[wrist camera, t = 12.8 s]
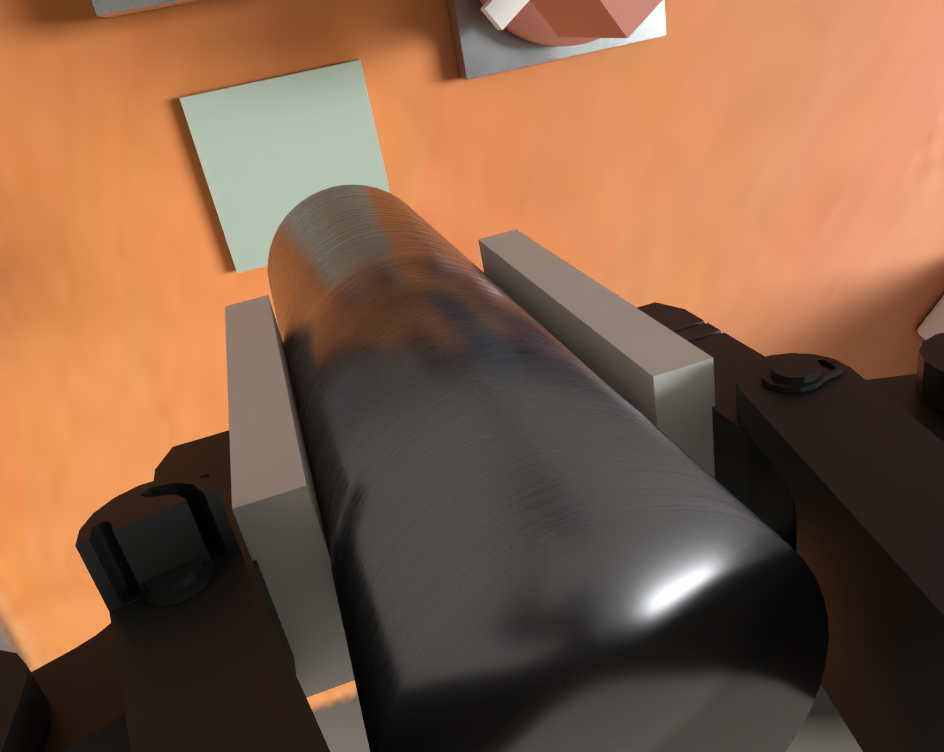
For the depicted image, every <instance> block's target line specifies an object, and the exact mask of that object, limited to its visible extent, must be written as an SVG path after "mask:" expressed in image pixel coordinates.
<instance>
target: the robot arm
mask: <svg viewBox="0 0 944 752" xmlns="http://www.w3.org/2000/svg"><path fill="white" fill-rule="evenodd" d="M479 246H480V251H481V257H482V262H483V268H484V274H486V275H487V276H488V277H489V278H490V279H491V280H492V281H493V282H495V283H496V284H497V285H498V286H499V287H500V288H501V289H502V290H504V291H505V292H506V293H507V294H508V295H509V296H510V297H511V298H513V299H514V300H515V301H516V302H517V303H518V304H519V305H520V306H522V307H523V308H524V309H525V310H526V311H527V312H528V313H529V314H530V315H532V316H533V317H534V318H535V319H536V320H537V321H538V322H539V323H541V324H542V325H543V326H544V327H545V328H546V329H547V330H548V331H550V332H551V333H552V334H553V335H554V336H555V337H556V338H557V339H559V340H560V341H561V342H562V343H563V344H564V345H565V346H566V347H568V348H569V349H570V350H571V351H572V352H573V353H574V354H575V355H577V356H578V357H579V358H580V359H581V360H582V361H583V362H584V363H586V364H587V365H588V366H589V367H590V368H591V369H592V370H593V371H594V372H596V373H597V374H598V375H599V376H600V377H601V378H602V379H603V380H605V381H606V382H607V383H608V384H609V385H610V386H611V387H612V388H614V389H615V390H616V391H617V392H618V393H619V394H620V395H621V396H623V397H624V398H625V399H626V400H627V401H628V402H629V403H630V404H632V405H633V406H634V407H635V408H636V409H637V410H638V411H639V412H641V413H642V414H643V415H644V416H645V417H646V418H647V419H648V420H650V421H651V422H652V423H653V424H654V425H655V426H656V427H657V428H658V429H660V430H661V431H662V432H663V433H664V434H665V435H666V436H667V437H669V438H670V439H671V440H672V441H673V442H674V443H675V444H676V445H678V446H679V447H680V448H681V449H682V450H683V451H684V452H685V453H687V454H688V455H689V456H690V457H691V458H692V459H693V460H694V461H696V462H697V463H698V464H699V465H700V466H701V467H702V468H703V469H705V470H706V471H707V472H708V473H709V474H710V475H711V476H712V477H713V478H715V479H716V480H717V481H718V482H719V483H720V484H721V485H722V486H724V487H725V488H726V489H727V490H728V491H729V492H730V493H731V494H733V495H734V496H735V497H736V498H737V499H738V500H739V501H740V502H742V503H743V504H744V505H745V506H746V507H747V508H748V509H749V510H751V511H752V512H753V513H754V514H755V515H756V516H757V517H758V518H760V519H761V520H762V521H763V522H764V523H765V524H766V525H767V526H769V527H770V528H771V529H772V530H773V531H774V532H775V533H776V534H777V535H779V536H780V537H781V538H782V539H783V540H784V541H785V542H786V543H788V544H789V545H790V546H791V547H792V548H793V549H794V550H795V551H796V552H797V553H798V554H799V555H800V556H801V557H802V558H803V559H804V560H805V562H806V563H807V565H808V566H809V568H810V569H811V571H812V572H813V574H814V575H815V577H816V579H817V581H818V584H819V586H820V588H821V591H822V593H823V596H824V599H825V604H826V609H827V614H828V625H829V643H828V652H827V660H826V665H825V669H824V673H823V676H822V680H821V686H822V687H823V689H824V691H825V692H826V694H827V695H828V697H829V698H830V700H831V702H832V703H833V705H834V706H835V708H836V710H837V711H838V713H839V714H840V716H841V717H842V719H843V721H844V722H845V723H846V725H847V727H848V728H849V730H850V732H851V733H852V735H853V736H854V738H855V740H856V741H857V743H858V744H859V746H860V747H861V749H862V751H863V752H944V333H939V334H936V335H934V336H932V337H931V338H929V339H927V340H925V341H924V342H923V344H922V346H921V348H920V350H919V357H918V368H917V374H912V375H904V376H896V377H888V378H880V379H872V380H865V379H864V378H862V377H861V376H860V375H859V374H857V373H856V372H855V371H854V370H852V369H851V368H850V367H848V366H846V365H844V364H842V363H840V362H839V361H837V360H835V359H831V358H828V357H823V356H818V355H814V354H797V353H789V354H780V355H771V356H767V357H765V356H763V355H761V354H760V353H758V352H756V351H755V350H753V349H751V348H749V347H748V346H746V345H744V344H743V343H741V342H739V341H738V340H736V339H734V338H732V337H731V336H729V335H727V334H726V333H722V334H721V332H720V330H719V329H717V328H715V327H714V326H712V325H710V324H709V323H706V324H705V323H704V321H703V320H702V319H700V318H698V317H697V316H695V315H693V314H692V313H690V312H688V311H686V310H685V309H681V308H677V307H673V306H668V305H664V304H660V303H656V302H655V303H652V304H648V305H645V306H641V307H638V308H636V307H635V306H633V305H631V304H630V303H628V302H627V301H625V300H624V299H622V298H621V297H619V296H618V295H616V294H615V293H613V292H611V291H610V290H608V289H607V288H605V287H604V286H602V285H601V284H599V283H598V282H596V281H595V280H593V279H592V278H590V277H588V276H587V275H585V274H584V273H582V272H581V271H579V270H578V269H576V268H575V267H573V266H572V265H570V264H568V263H567V262H565V261H564V260H562V259H561V258H559V257H558V256H556V255H555V254H553V253H552V252H550V251H548V250H547V249H545V248H544V247H542V246H541V245H539V244H538V243H536V242H535V241H533V240H532V239H530V238H529V237H527V236H525V235H524V234H522V233H521V232H519V231H518V230H513V231H509V232H505V233H502V234H498V235H494V236H490V237H487V238H483V239H479ZM225 322H226V351H227V379H228V407H229V431H226V432H222V433H219V434H215V435H212V436H209V437H205V438H202V439H198V440H195V441H192V442H188V443H185V444H181V445H178V446H175V447H172V449H171V450H170V451H169V453H168V454H167V455H166V456H165V458H164V459H163V460H162V462H161V463H160V464H159V465H158V467H157V468H156V469H155V475H154V481H152V482H149V483H146V484H143V485H139V486H137V487H135V488H133V489H131V490H129V491H127V492H125V493H123V494H121V495H119V496H117V497H115V498H114V499H112V500H111V501H110V502H108V503H107V504H105V505H104V506H103V507H101V508H100V509H99V510H97V511H96V512H95V513H93V515H92V516H91V517H90V518H89V519H88V520H87V522H86V523H85V524H84V525H83V526H82V528H81V529H80V530H79V534H78V538H77V541H76V545H75V546H76V548H77V550H78V552H79V553H80V555H81V557H82V559H83V561H84V563H85V565H86V567H87V569H88V571H89V573H90V575H91V577H92V579H93V581H94V583H95V585H96V587H97V588H98V590H99V592H100V594H101V596H102V598H103V600H104V602H105V604H106V606H107V608H108V610H109V612H110V618H111V624H109V625H108V626H107V627H106V628H105V629H103V630H102V631H101V632H100V633H98V634H97V635H96V636H94V637H93V638H91V639H89V640H88V641H86V642H85V643H83V644H81V645H80V646H78V647H77V648H75V649H73V650H71V651H69V652H68V653H66V654H64V655H62V656H60V657H58V658H57V659H55V660H53V661H51V662H49V663H48V664H46V665H44V666H42V667H40V668H38V669H37V670H35V671H33V672H30V670H29V668H28V667H27V665H26V664H25V663H24V661H23V660H22V659H21V658H20V657H19V656H18V654H17V653H13V652H7V651H2V650H0V752H330V750H329V748H328V746H327V744H326V741H325V739H324V737H323V735H322V732H321V730H320V728H319V726H318V723H317V721H316V719H315V717H314V714H313V712H312V710H311V708H310V705H309V703H308V701H307V699H306V697H309V696H312V695H315V694H317V693H320V692H323V691H326V690H328V689H331V688H334V687H336V686H339V685H342V684H345V683H347V682H350V681H353V680H355V678H354V674H353V669H352V664H351V660H350V655H349V651H348V646H347V641H346V637H345V632H344V627H343V623H342V618H341V613H340V609H339V604H338V600H337V595H336V590H335V586H334V581H333V576H332V572H331V559H330V554H329V550H328V545H327V540H326V536H325V531H324V527H323V522H322V518H321V513H320V509H319V504H318V499H317V495H316V490H315V486H314V481H313V477H312V472H311V467H310V463H309V458H308V454H307V449H306V445H305V440H304V436H303V431H302V426H301V422H300V417H299V413H298V408H297V404H296V399H295V395H294V390H293V385H292V381H291V376H290V372H289V367H288V363H287V358H286V354H285V349H284V344H283V341H282V338H281V335H280V332H279V329H278V325H277V322H276V319H275V316H274V313H273V310H272V306H271V303H270V300H269V297H268V295H267V296H263V297H260V298H256V299H252V300H248V301H245V302H241V303H237V304H233V305H229V306H226V307H225ZM296 674H297V676H296ZM297 677H298V678H297ZM298 680H299V681H298ZM299 682H300V683H299Z"/></svg>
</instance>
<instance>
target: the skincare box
mask: <svg viewBox="0 0 944 752" xmlns="http://www.w3.org/2000/svg"><path fill="white" fill-rule="evenodd" d="M917 333H918V334H919V335H920V336H921V337H922V338H923V339H924V340H927V339H929V338H931V337H932V336H934V335H936V334H939V333H944V295H943V296H942V298H941V299H940V300H939V302H938V303H937V304H936V305H935V307H934V308H933V309H932V311H931V312H930V313H929V314H928V316H927V317H926V318H925V320H924V321H923V323H922V324H921V325H920V327H919V328H918V330H917Z"/></svg>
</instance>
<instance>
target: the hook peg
mask: <svg viewBox="0 0 944 752" xmlns="http://www.w3.org/2000/svg"><path fill="white" fill-rule="evenodd" d="M268 278H269V284H270V289H271V293H272V298H273V303H274V307H275V312H276V317H277V321H278V326H279V330H280V335H281V338H282V341H283V344H284V349H285V354H286V358H287V363H288V367H289V372H290V376H291V381H292V385H293V390H294V395H295V399H296V404H297V408H298V413H299V417H300V422H301V426H302V431H303V436H304V440H305V445H306V449H307V454H308V458H309V463H310V467H311V472H312V477H313V481H314V486H315V490H316V495H317V499H318V504H319V509H320V513H321V518H322V522H323V527H324V531H325V536H326V540H327V545H328V550H329V554H330V559H331V572H332V576H333V581H334V586H335V590H336V595H337V600H338V604H339V609H340V613H341V618H342V623H343V627H344V632H345V637H346V641H347V646H348V651H349V655H350V660H351V664H352V669H353V674H354V678H355V683H356V688H357V692H358V697H359V702H360V706H361V711H362V716H363V720H364V725H365V729H366V734H367V738H368V743H369V748H370V752H785V751H786V750H787V749H788V747H789V746H790V744H791V742H792V741H793V739H794V738H795V736H796V735H797V733H798V731H799V730H800V728H801V727H802V725H803V723H804V721H805V718H806V717H807V715H808V713H809V711H810V709H811V707H812V705H813V702H814V700H815V697H816V694H817V692H818V689H819V686H820V684H821V680H822V676H823V673H824V669H825V665H826V660H827V652H828V643H829V625H828V614H827V609H826V604H825V599H824V596H823V593H822V591H821V588H820V586H819V584H818V581H817V579H816V577H815V575H814V574H813V572H812V571H811V569H810V568H809V566H808V565H807V563H806V562H805V560H804V559H803V558H802V557H801V556H800V555H799V554H798V553H797V552H796V551H795V550H794V549H793V548H792V547H791V546H790V545H789V544H788V543H786V542H785V541H784V540H783V539H782V538H781V537H780V536H779V535H777V534H776V533H775V532H774V531H773V530H772V529H771V528H770V527H769V526H767V525H766V524H765V523H764V522H763V521H762V520H761V519H760V518H758V517H757V516H756V515H755V514H754V513H753V512H752V511H751V510H749V509H748V508H747V507H746V506H745V505H744V504H743V503H742V502H740V501H739V500H738V499H737V498H736V497H735V496H734V495H733V494H731V493H730V492H729V491H728V490H727V489H726V488H725V487H724V486H722V485H721V484H720V483H719V482H718V481H717V480H716V479H715V478H713V477H712V476H711V475H710V474H709V473H708V472H707V471H706V470H705V469H703V468H702V467H701V466H700V465H699V464H698V463H697V462H696V461H694V460H693V459H692V458H691V457H690V456H689V455H688V454H687V453H685V452H684V451H683V450H682V449H681V448H680V447H679V446H678V445H676V444H675V443H674V442H673V441H672V440H671V439H670V438H669V437H667V436H666V435H665V434H664V433H663V432H662V431H661V430H660V429H658V428H657V427H656V426H655V425H654V424H653V423H652V422H651V421H650V420H648V419H647V418H646V417H645V416H644V415H643V414H642V413H641V412H639V411H638V410H637V409H636V408H635V407H634V406H633V405H632V404H630V403H629V402H628V401H627V400H626V399H625V398H624V397H623V396H621V395H620V394H619V393H618V392H617V391H616V390H615V389H614V388H612V387H611V386H610V385H609V384H608V383H607V382H606V381H605V380H603V379H602V378H601V377H600V376H599V375H598V374H597V373H596V372H594V371H593V370H592V369H591V368H590V367H589V366H588V365H587V364H586V363H584V362H583V361H582V360H581V359H580V358H579V357H578V356H577V355H575V354H574V353H573V352H572V351H571V350H570V349H569V348H568V347H566V346H565V345H564V344H563V343H562V342H561V341H560V340H559V339H557V338H556V337H555V336H554V335H553V334H552V333H551V332H550V331H548V330H547V329H546V328H545V327H544V326H543V325H542V324H541V323H539V322H538V321H537V320H536V319H535V318H534V317H533V316H532V315H530V314H529V313H528V312H527V311H526V310H525V309H524V308H523V307H522V306H520V305H519V304H518V303H517V302H516V301H515V300H514V299H513V298H511V297H510V296H509V295H508V294H507V293H506V292H505V291H504V290H502V289H501V288H500V287H499V286H498V285H497V284H496V283H495V282H493V281H492V280H491V279H490V278H489V277H488V276H487V275H486V274H484V273H483V272H482V271H481V270H480V269H479V268H478V267H477V266H475V265H474V264H473V263H472V262H471V261H470V260H469V259H468V258H466V257H465V256H464V255H463V254H462V253H461V252H460V251H459V250H458V249H456V248H455V247H454V246H453V245H452V244H451V243H450V242H449V241H447V240H446V239H445V238H444V237H443V236H442V235H441V234H440V233H438V232H437V231H436V230H435V229H434V228H433V227H432V226H431V225H429V224H428V223H427V222H426V221H425V220H424V219H423V218H422V217H420V216H419V215H418V214H417V213H416V212H415V211H414V210H413V209H411V208H410V207H409V206H408V205H407V204H406V203H404V202H403V201H402V200H400V199H399V198H398V197H396V196H394V195H392V194H390V193H388V192H386V191H384V190H381V189H378V188H375V187H370V186H366V185H340V186H335V187H330V188H327V189H324V190H321V191H319V192H317V193H315V194H313V195H311V196H309V197H307V198H306V199H304V200H303V201H301V202H300V203H299V204H298V205H297V206H295V207H294V208H293V209H292V210H291V211H290V212H289V213H288V215H287V216H286V217H285V218H284V220H283V221H282V223H281V224H280V225H279V227H278V229H277V231H276V233H275V235H274V237H273V240H272V243H271V246H270V251H269V256H268Z"/></svg>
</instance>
